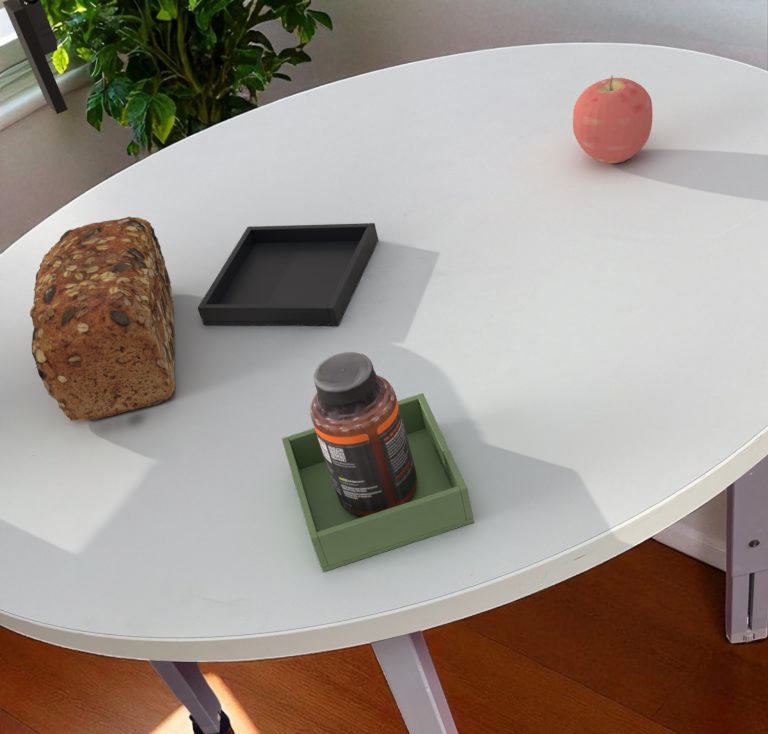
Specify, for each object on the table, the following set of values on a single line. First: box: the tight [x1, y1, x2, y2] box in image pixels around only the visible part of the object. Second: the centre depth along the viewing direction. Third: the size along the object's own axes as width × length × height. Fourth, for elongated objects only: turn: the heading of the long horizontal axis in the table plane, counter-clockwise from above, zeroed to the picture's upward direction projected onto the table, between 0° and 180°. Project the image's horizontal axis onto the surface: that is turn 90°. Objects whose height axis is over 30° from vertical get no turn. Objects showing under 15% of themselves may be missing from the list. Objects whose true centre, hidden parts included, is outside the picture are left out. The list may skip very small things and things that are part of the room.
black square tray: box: [197, 222, 379, 327], centre depth 99 cm, size 13×13×2 cm
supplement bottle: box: [309, 351, 417, 517], centre depth 73 cm, size 6×6×11 cm
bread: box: [29, 216, 176, 422], centre depth 93 cm, size 19×11×10 cm, turn 9°
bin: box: [281, 392, 475, 573], centre depth 76 cm, size 11×11×3 cm
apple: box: [572, 75, 654, 164], centre depth 101 cm, size 7×7×8 cm
